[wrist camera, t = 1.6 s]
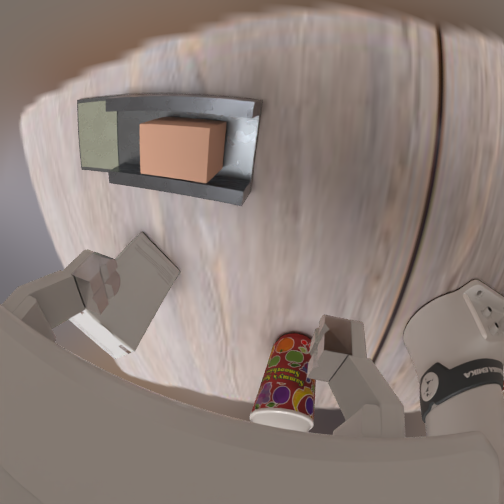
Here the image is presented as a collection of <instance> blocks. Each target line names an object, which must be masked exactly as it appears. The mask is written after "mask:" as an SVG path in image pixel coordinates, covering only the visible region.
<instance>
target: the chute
mask: <svg viewBox="0 0 504 504" xmlns="http://www.w3.org/2000/svg"><path fill="white" fill-rule="evenodd" d="M261 107H262V100H256V99H248V98H239V97H229V96H217V95H201V94H132V95H117V96H105V97H95V98H87V99H80V100H77V110H78V134H79V148H80V159H81V168H82V170H91V171H101V172H109V183H113V184H119V185H126V186H133V187H139V188H145V189H152V190H158V191H164V192H170V193H175V194H181V195H187V196H192V197H198V198H203V199H208V200H214V201H219V202H224V203H229V204H234V205H239V206H242V205H243V203H244V202H245V200H246V198H247V197H248V195H249V194H250V191H251V183H252V175H253V167H254V160H255V152H256V144H257V137H258V129H259V122H260V114H261ZM161 117H180V118H195V119H207V120H217V121H226V122H227V124H226V134H225V145H224V156H223V168H222V169H221V170H220V171H219V172H218V173H217V174H216V175H215V176H214V177H213V178H212V179H211V180H209V181H208V182H207V183H201V182H195V181H189V180H183V179H176V178H169V177H163V176H155V175H148V174H141V171H140V124H141V123H144V122H147V121H151V120H154V119H157V118H161Z"/></svg>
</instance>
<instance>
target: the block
mask: <svg viewBox="0 0 504 504" xmlns="http://www.w3.org/2000/svg"><path fill="white" fill-rule="evenodd" d="M226 124H227V122H226V121H217V120H207V119H195V118H180V117H161V118H157V119H154V120H151V121H147V122H144V123H141V124H140V171H141V174H148V175H155V176H163V177H169V178H176V179H183V180H189V181H195V182H201V183H207V182H208V181H209V180H211V179H212V178H213V177H214V176H215V175H216V174H217V173H218V172H219V171H220V170H221V169H222V168H223V156H224V145H225V134H226Z"/></svg>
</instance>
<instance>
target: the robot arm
mask: <svg viewBox="0 0 504 504" xmlns="http://www.w3.org/2000/svg"><path fill="white" fill-rule="evenodd" d="M117 267H118V265H117V261H116V260H115V259H113V258H110V257H108V256H105V255H102V254H99V253H96V252H93V251H90V250H84V251H83V252H82V253H81V254H80V255H79V256H78V257H77V258H75V259H74V260H73V261H72V262H71V263H70V264H69V265H68V266H67V267H66V268H65V269H64V270H63V271H61V270H60V271H57V272H54V273H52V274H49V275H47V276H44V277H42V278H39V279H37V280H34V281H32V282H29V283H27V284H24V285H22V286H19V287H18V288H17V289H16V290H15V291H14V292H13V293H12V294H11V295H10V296H9V297H8V298H7V300H5V302H4V303H3V304H2V305H1V304H0V504H504V397H503V393H502V391H503V390H504V387H503V386H504V373H503V366H504V297H503V296H502V295H500V294H499V293H497V292H496V291H494V290H493V289H491V288H490V287H488V286H487V285H485V284H484V283H482V282H481V281H479V280H473V281H471V282H469V283H468V284H466V285H465V286H463V287H462V288H461V289H459V290H457V291H455V292H452V293H449V294H446V295H444V296H441V297H439V298H437V299H435V300H433V301H431V302H430V303H428V304H427V305H425V306H424V307H423V308H421V309H420V310H419V311H418V312H417V313H416V314H415V315H414V316H413V317H412V318H411V320H410V321H409V323H408V324H407V326H406V328H405V331H404V335H403V341H404V344H405V346H406V348H407V350H408V352H409V354H410V356H411V358H412V361H413V364H414V367H415V370H416V373H417V376H418V380H419V383H420V406H421V414H422V420H423V421H424V423H426V437H407V438H405V420H404V406H403V404H402V403H401V401H400V400H399V399H398V397H397V396H396V394H395V393H394V391H393V390H392V389H391V387H390V386H389V384H388V383H387V381H386V380H385V379H384V377H383V376H382V374H381V373H380V372H379V370H378V369H377V367H376V366H375V365H374V363H373V362H372V360H371V359H369V358H367V354H366V342H365V332H364V324H363V322H360V321H354V320H349V319H344V318H339V317H334V316H329V315H323V316H322V317H321V319H320V321H319V328H317V329H315V332H314V334H313V337H312V340H311V344H310V351H309V353H310V355H311V356H312V357H311V359H310V361H309V363H308V372H307V378H310V379H315V380H320V381H326V382H329V383H328V384H329V386H330V388H331V390H332V392H333V394H334V396H335V398H336V400H337V402H338V405H339V407H340V409H341V411H342V413H343V415H344V417H345V419H346V421H345V422H344V423H343V424H342V425H341V426H339V427H338V428H337V429H335V430H334V431H333V435H326V434H317V433H309V432H302V431H295V430H289V429H283V428H278V427H272V426H267V425H263V424H258V423H253V422H249V421H245V420H240V419H236V418H232V417H229V416H225V415H221V414H217V413H214V412H211V411H207V410H204V409H201V408H197V407H195V406H191V405H188V404H185V403H182V402H179V401H177V400H174V399H171V398H168V397H165V396H163V395H160V394H158V393H155V392H153V391H150V390H148V389H145V388H143V387H141V386H138V385H136V384H134V383H131V382H129V381H127V380H125V379H122V378H120V377H118V376H116V375H114V374H111V373H109V372H107V371H105V370H103V369H101V368H99V367H97V366H96V365H93V364H92V363H90V362H88V361H86V360H84V359H82V358H80V357H79V356H77V355H75V354H73V353H71V352H70V351H68V350H66V349H65V348H63V347H61V346H60V345H58V344H56V343H55V341H56V336H55V334H54V332H53V331H52V329H53V328H55V327H56V326H58V325H60V324H61V323H63V322H65V321H67V320H68V319H70V318H72V317H73V316H75V315H77V314H79V313H80V312H82V311H84V310H85V309H87V310H90V311H92V312H95V313H97V314H100V315H101V314H102V312H103V311H104V310H105V308H106V307H107V306H108V304H109V299H110V298H113V297H115V295H116V294H117V292H118V290H119V288H120V281H121V280H120V275H119V274H118V272H117V271H116V269H117Z"/></svg>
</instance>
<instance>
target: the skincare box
mask: <svg viewBox="0 0 504 504" xmlns="http://www.w3.org/2000/svg"><path fill="white" fill-rule="evenodd" d="M115 260H116V261H117V265H118V267H117V269H116V271H117V272H118V274H119V275H120V280H121V281H120V288H119V290H118V292H117V294H116V295H115V297H113V298H110V299H109V304H108V306H107V307H106V308H105V310H104V311H103V312H102V314H101V315H100V314H97V313H95V312H92V311H90V310H87V309H85V310H84V311H82V312H80V313H79V314H77V315H75V316H73V317H72V318H70V319H69V320H70V321H71V322H73V323H74V324H75V325H76V326H77V327H78V328H79V329H80V330H81V331H83V332H84V333H85V334H86V335H87V336H88V337H89V338H91V339H92V340H93V341H94V342H95V343H96V344H98V345H99V346H100V347H101V348H102V349H104V350H105V351H106V352H107V353H108V354H110V355H111V356H112V357H113V358H114V359H117V358H120V357H122V356H125V355H127V354H129V353H131V352H134V351H135V350H136V348H137V347H138V345H139V343H140V341H141V339H142V337H143V335H144V334H145V332H146V330H147V328H148V326H149V325H150V323H151V321H152V319H153V318H154V316H155V314H156V312H157V311H158V309H159V307H160V305H161V303H162V302H163V300H164V298H165V297H166V295H167V293H168V291H169V290H170V288H171V286H172V285H173V283H174V281H175V280H176V278H177V276H178V275H179V273H180V271H179V270H178V269H177V268H176V267H175V266H174V265H173V264H172V263H171V262H170V261H169V260H168V259H167V258H166V257H165V256H164V254H163V253H162V252H161V251H160V250H159V249H158V248H157V247H156V246H155V245H154V244H153V243H152V242H151V241H150V240H149V239H148V238H147V237H146V236H145V235H144V234H143V233H142V232H141V233H140V234H139V235H138V236H137V237H136V238H135V239H134V240H133V241H131V242H130V243H129V244H128V245H127V247H126V248H125V249H124V250H123V251H122V252H121V253H120V254H119V255H118V256H117V257H116V258H115Z"/></svg>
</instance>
